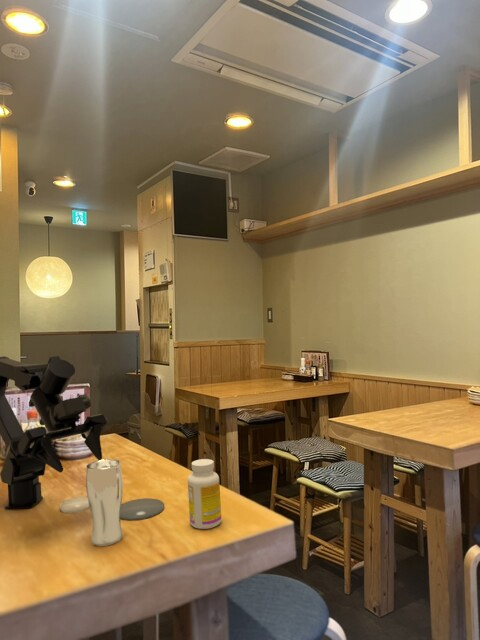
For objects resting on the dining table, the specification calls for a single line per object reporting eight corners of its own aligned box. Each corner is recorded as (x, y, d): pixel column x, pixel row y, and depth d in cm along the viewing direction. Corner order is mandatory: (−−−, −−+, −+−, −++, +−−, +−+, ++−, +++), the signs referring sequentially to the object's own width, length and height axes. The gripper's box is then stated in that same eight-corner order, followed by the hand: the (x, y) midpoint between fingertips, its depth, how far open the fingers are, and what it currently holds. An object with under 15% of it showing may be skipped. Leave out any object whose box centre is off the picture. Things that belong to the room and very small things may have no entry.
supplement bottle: (227, 519, 101) (224, 459, 101) (211, 532, 95) (208, 468, 95) (200, 514, 104) (197, 456, 104) (183, 527, 98) (180, 465, 98)
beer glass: (115, 548, 90) (111, 469, 90) (82, 546, 92) (78, 469, 92) (131, 531, 97) (127, 458, 97) (99, 530, 98) (96, 458, 98)
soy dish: (55, 515, 108) (55, 509, 108) (67, 503, 115) (67, 497, 115) (85, 514, 108) (85, 508, 108) (96, 502, 115) (95, 496, 115)
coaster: (108, 521, 103) (108, 518, 103) (123, 501, 114) (123, 499, 114) (158, 519, 102) (158, 516, 102) (168, 500, 113) (168, 497, 113)
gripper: (21, 390, 95) (53, 452, 88) (101, 378, 110) (133, 431, 103) (5, 425, 100) (34, 487, 93) (83, 409, 115) (113, 462, 108)
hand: (82, 465), depth 99 cm, fingers open, 9 cm apart
